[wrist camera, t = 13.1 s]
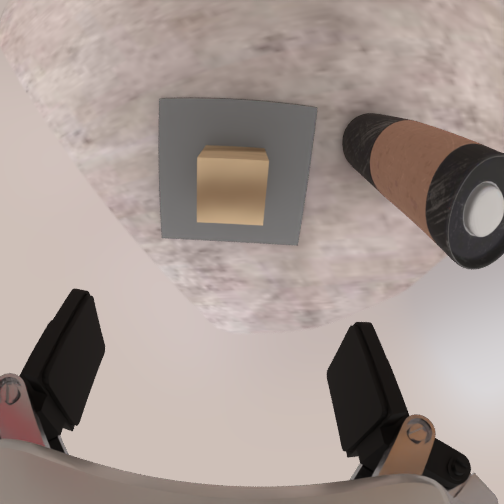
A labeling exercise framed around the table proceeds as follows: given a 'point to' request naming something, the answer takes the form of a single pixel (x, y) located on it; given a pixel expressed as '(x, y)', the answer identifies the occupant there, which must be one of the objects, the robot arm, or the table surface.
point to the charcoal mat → (241, 135)
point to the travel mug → (434, 183)
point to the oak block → (231, 185)
